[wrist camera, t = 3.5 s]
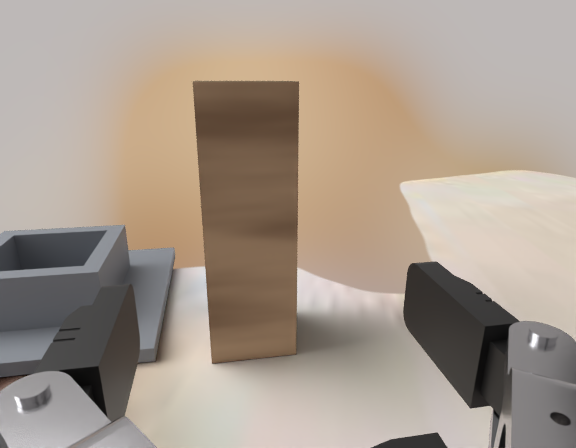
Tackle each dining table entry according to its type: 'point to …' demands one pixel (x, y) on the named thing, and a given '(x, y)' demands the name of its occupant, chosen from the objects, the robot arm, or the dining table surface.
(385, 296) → the dining table surface
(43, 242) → the slate stand
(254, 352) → the walnut block
